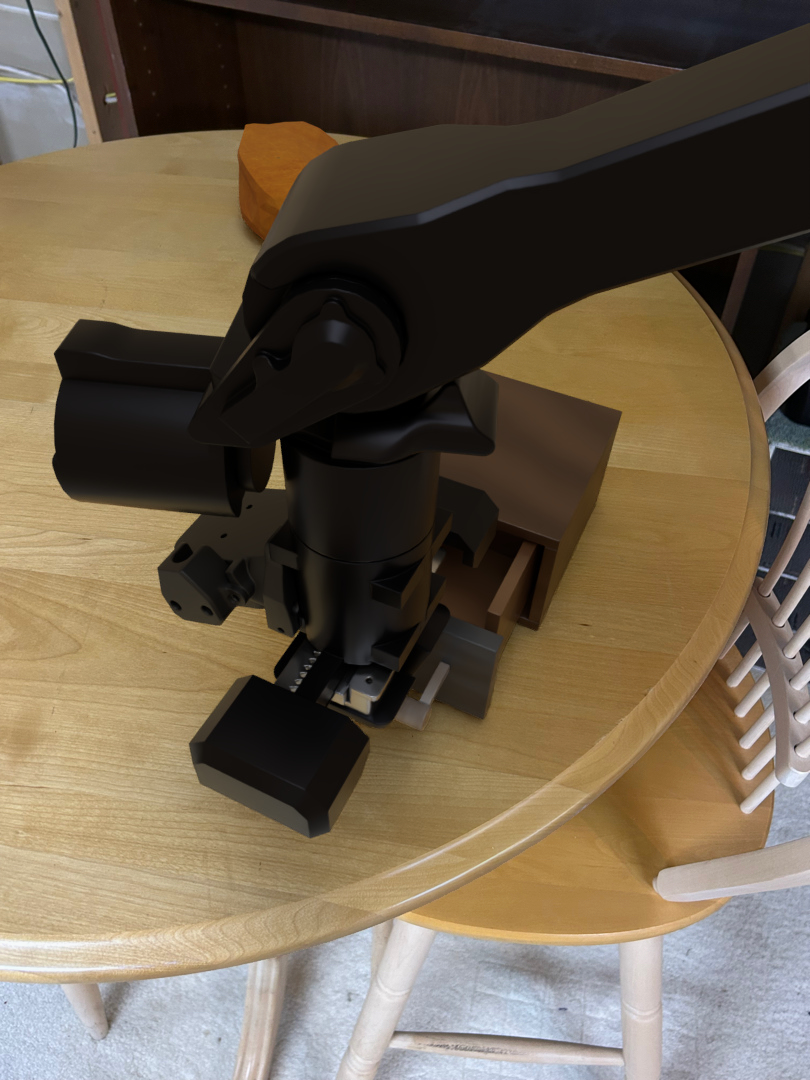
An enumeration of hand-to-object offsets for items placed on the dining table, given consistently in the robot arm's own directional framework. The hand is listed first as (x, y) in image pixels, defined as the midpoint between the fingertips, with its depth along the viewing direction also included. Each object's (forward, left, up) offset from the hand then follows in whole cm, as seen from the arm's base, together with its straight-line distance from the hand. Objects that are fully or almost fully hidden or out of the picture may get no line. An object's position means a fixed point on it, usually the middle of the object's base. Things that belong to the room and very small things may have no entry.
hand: (366, 718), depth 42 cm
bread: (+37, -56, -5) cm, 68 cm away
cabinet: (0, -20, -4) cm, 20 cm away
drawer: (0, -9, -4) cm, 10 cm away
